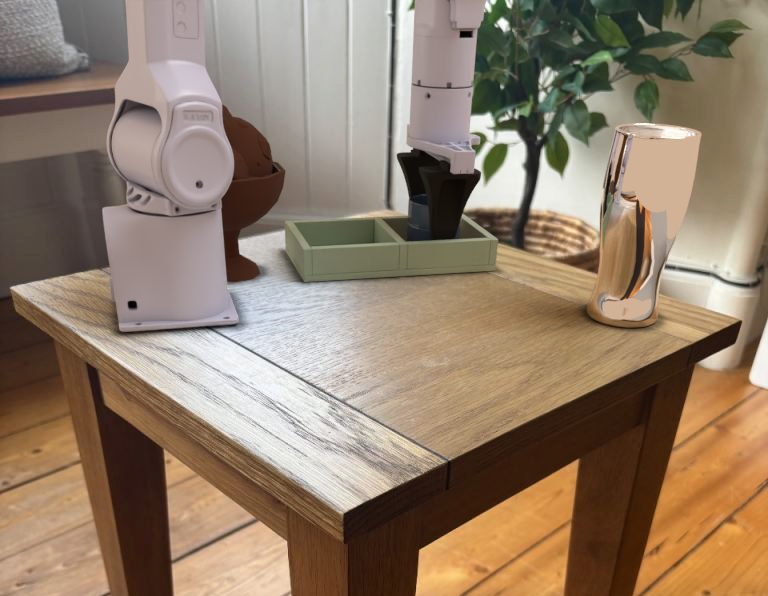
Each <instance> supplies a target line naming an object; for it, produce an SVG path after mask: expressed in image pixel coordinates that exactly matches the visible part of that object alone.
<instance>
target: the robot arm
mask: <svg viewBox="0 0 768 596" xmlns="http://www.w3.org/2000/svg"><path fill="white" fill-rule="evenodd" d="M124 1H125V14H126V15H125V16H126V30H127V31H126V33H127V50H128V61H127V64H126V65H125V68H124V69H123V70H122V72H121V74H120V76H119V78H118V79H117V81H116V82H115V84H114V99H115V100H114V103H115V104H114V106H115V107H114V111H113V116H112V118H111V121H110V123H109V125H108V129H107V134H106V141H105V143H106V151H107V155H108V156H107V157H108V159H109V162H110V164H111V166H112V167H113V169H114V171H115V172H116V174H118V176H120V178H122V179H123V180H124V181H125V182H126V194H125V198H126V203H125V204H119V205H112V206H104V207H102V209H101V210H102V212H101V213H102V223H103V230H104V238H105V245H106V251H107V258H108V265H109V271H110V277H111V278H109V279H108V284H109V291H110V298H111V302H115V308H116V314H117V315H116V316H117V321H118V329H119V331H120V332H123V333H127V332H128V333H129V332H142V331H156V330H157V331H158V330H170V329H185V328H197V327H212V326H213V327H215V326H226V325H237V324H239V322H240V319H239V318H240V317H239V315H238V312H237V309H236V306H235V303H234V301H233V298H232V294H231V293H230V290H229V289H228V282H227V276H226V263H225V250H224V238H223V225H222V212H221V208H222V203H221V198H222V197H223V196H224V195H225V193H226V192H227V190H228V188H229V186H230V184H231V181H232V178H233V172H234V157H233V152H232V148H231V145H230V143H229V141H228V138H227V136H226V134H225V130H224V126H223V118H222V104H223V103H222V100H221V97H220V95H219V94H218V91H217V89H216V87H215V85H214V84H213V81H212V80H211V77H210V75H209V73H208V71H207V67H206V25H205V23H206V22H205V18H206V17H205V0H124ZM486 3H487V0H414V9H413V11H414V13H413V14H414V15H413V37H412V41H413V42H412V63H411V64H412V65H411V84H410V107H409V108H410V110H409V123H407V124H406V142H405V143H406V145H407V146H408V147H410V148H412V149H410V151H407V152H404V151H403V152H398V153H396V159H397V162H398V164H399V166H400V169H401V172H402V174H403V177H404V180H405V181H404V182H405V185H406V189H407V194H408V199H409V198H410V197H411V196H414V195H418V194H427V200H428V207H429V224H430V235H431V240H451V239H455V237H456V234H457V231H458V227H459V224H460V220H461V217H462V214H464V212H465V208H466V206H467V204H468V201H469V199H470V197H471V196H472V194H473V192H474V190H475V188H476V186H477V185H478V184H479V182H480V181H481V177H482V172H481V170H479V169H477V168H475V164H476V154H477V153H476V150H475V149H473V147H472V146H480V145H481V136H479V135H477V134H474V133H470V128H471V116H472V106H473V105H472V104H473V90H474V78H475V67H476V65H475V64H476V53H477V40H478V29H479V28H480V27H481V24H482V22H484V18H485V17H484V16H485V7H486Z"/></svg>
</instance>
